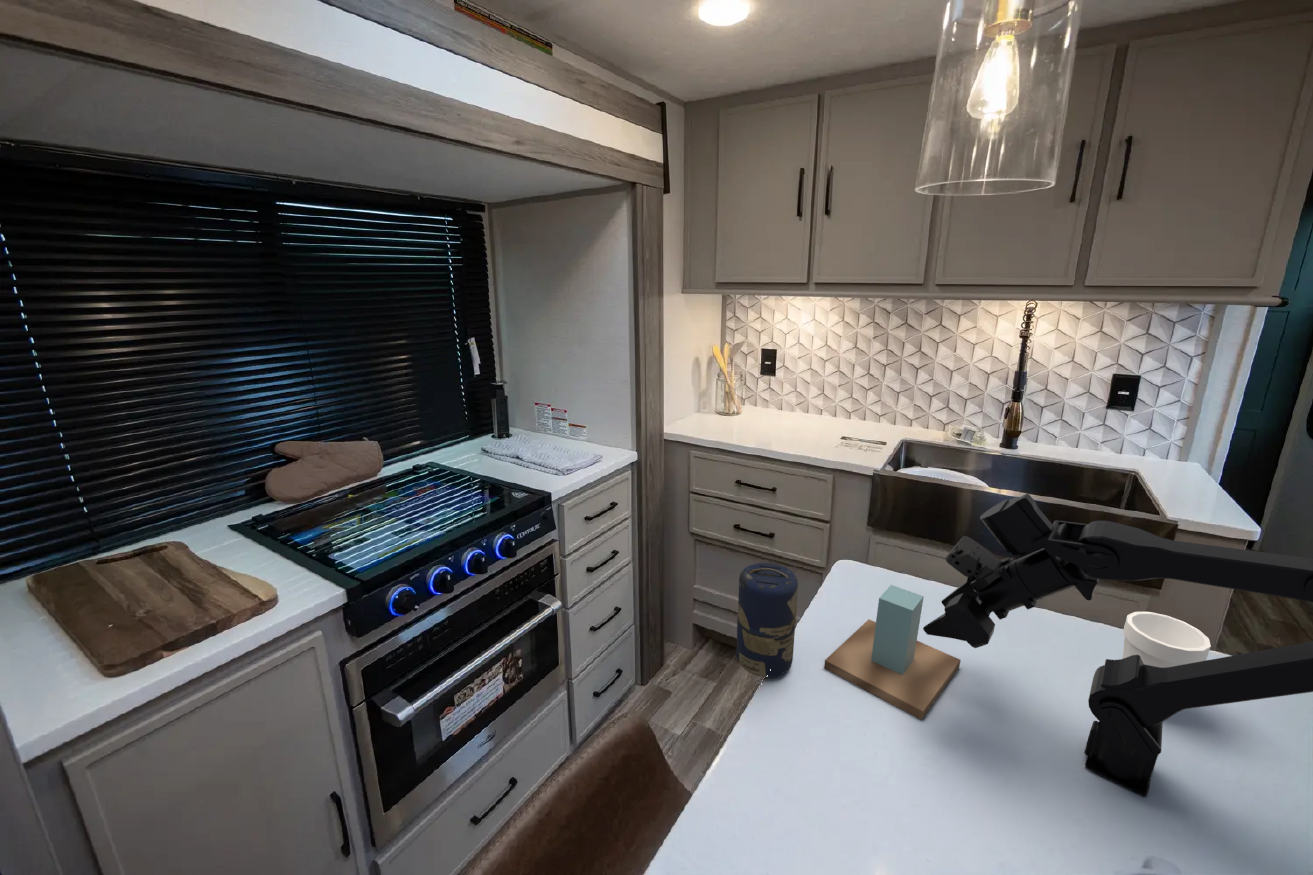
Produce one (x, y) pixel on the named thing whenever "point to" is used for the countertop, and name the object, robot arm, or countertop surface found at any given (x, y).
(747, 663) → the canister
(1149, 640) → the foam cup
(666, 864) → the countertop surface
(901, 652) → the tall sage green block
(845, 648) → the stand
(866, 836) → the countertop surface
